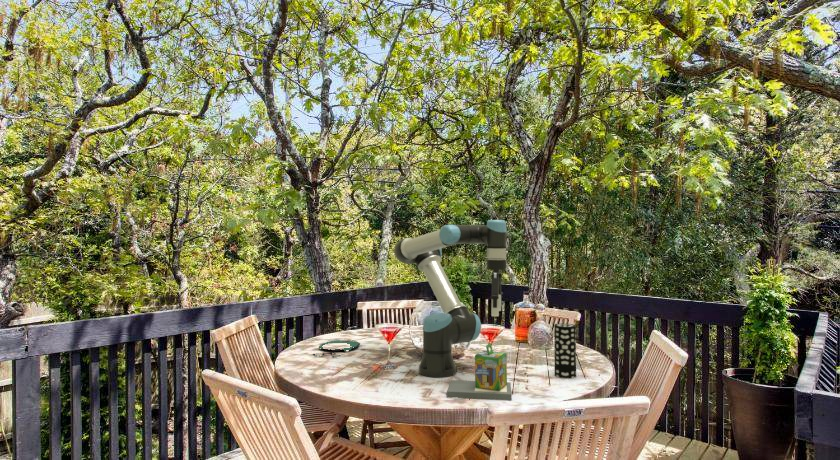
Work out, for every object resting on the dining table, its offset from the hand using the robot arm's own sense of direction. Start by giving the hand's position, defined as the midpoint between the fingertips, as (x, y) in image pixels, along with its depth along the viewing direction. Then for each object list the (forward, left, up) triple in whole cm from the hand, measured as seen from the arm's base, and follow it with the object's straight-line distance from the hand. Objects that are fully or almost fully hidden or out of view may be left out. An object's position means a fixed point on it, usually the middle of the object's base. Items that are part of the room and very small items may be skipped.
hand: (496, 313), depth 200 cm
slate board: (-6, -19, -25) cm, 32 cm away
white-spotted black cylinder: (+27, +8, -26) cm, 38 cm away
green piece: (-78, +37, -26) cm, 90 cm away
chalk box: (-2, -19, -23) cm, 30 cm away
